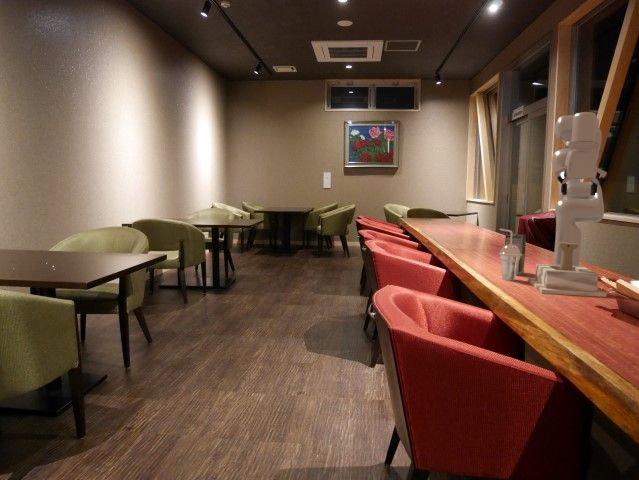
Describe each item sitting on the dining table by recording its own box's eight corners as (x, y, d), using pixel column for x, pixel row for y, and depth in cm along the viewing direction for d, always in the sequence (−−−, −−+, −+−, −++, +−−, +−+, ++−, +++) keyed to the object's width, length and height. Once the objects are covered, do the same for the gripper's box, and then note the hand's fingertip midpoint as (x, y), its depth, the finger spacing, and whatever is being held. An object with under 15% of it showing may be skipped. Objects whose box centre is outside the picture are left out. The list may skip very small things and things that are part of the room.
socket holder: (527, 281, 186) (528, 262, 186) (584, 284, 182) (585, 265, 182) (541, 293, 165) (543, 272, 164) (606, 297, 161) (608, 275, 160)
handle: (574, 287, 170) (578, 244, 169) (554, 284, 173) (558, 243, 171) (573, 284, 175) (577, 243, 173) (554, 282, 177) (557, 242, 176)
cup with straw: (521, 282, 183) (524, 229, 181) (495, 280, 186) (498, 228, 184) (519, 278, 191) (523, 227, 189) (495, 276, 194) (498, 226, 192)
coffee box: (508, 270, 209) (510, 233, 207) (524, 272, 205) (526, 234, 203) (502, 273, 202) (505, 235, 200) (518, 275, 198) (521, 236, 196)
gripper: (604, 148, 178) (600, 195, 180) (553, 148, 181) (550, 194, 183) (612, 146, 170) (608, 195, 172) (559, 146, 174) (555, 194, 176)
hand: (578, 195), depth 178 cm, fingers open, 9 cm apart
